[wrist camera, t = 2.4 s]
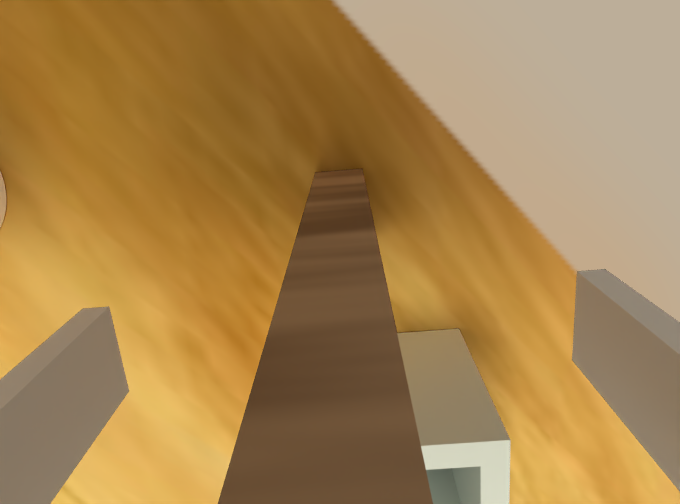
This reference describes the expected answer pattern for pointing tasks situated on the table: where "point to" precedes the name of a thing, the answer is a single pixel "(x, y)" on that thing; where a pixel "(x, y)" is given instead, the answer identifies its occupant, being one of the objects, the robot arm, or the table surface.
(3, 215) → the cup
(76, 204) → the table surface
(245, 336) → the table surface
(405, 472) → the brown wooden plank
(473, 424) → the white square tube
